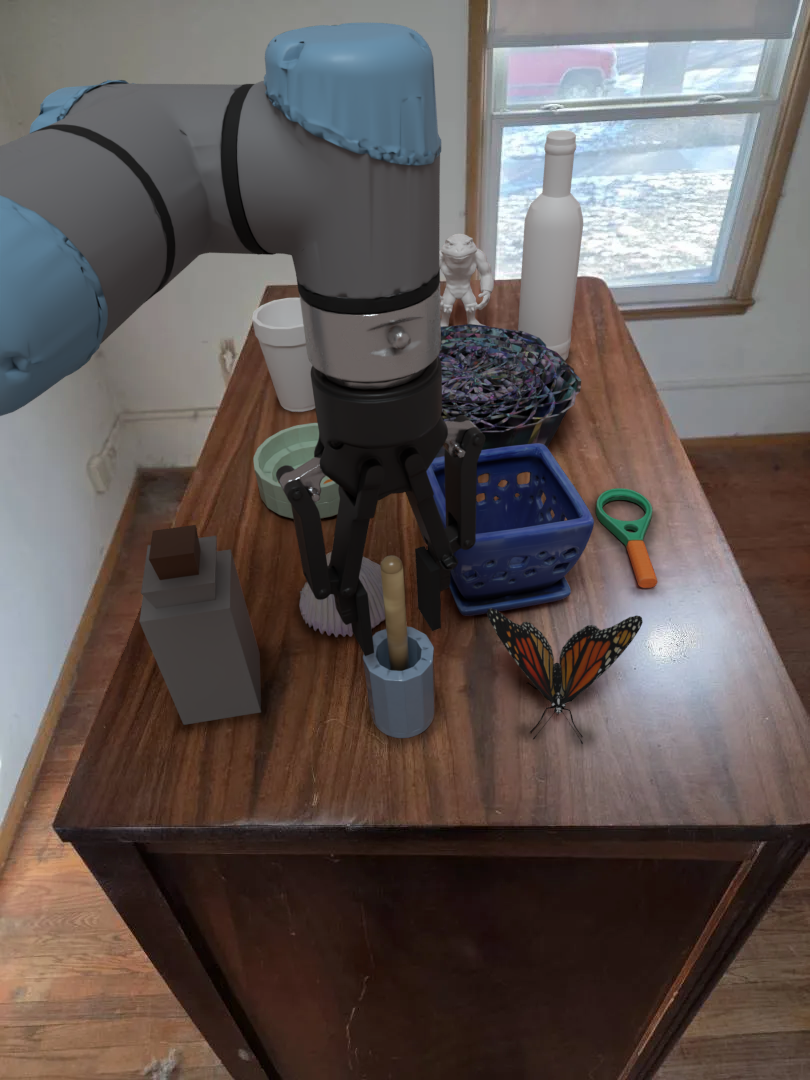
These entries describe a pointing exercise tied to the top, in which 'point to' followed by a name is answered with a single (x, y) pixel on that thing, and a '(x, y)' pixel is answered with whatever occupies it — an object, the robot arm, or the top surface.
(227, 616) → the perfume bottle
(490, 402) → the decorative bowl
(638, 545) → the magnifying glass
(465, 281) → the figurine
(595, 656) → the butterfly
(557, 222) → the bottle
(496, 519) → the flower pot
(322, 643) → the top surface
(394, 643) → the stick
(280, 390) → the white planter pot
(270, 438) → the bowl
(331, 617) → the seashell
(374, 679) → the holder
